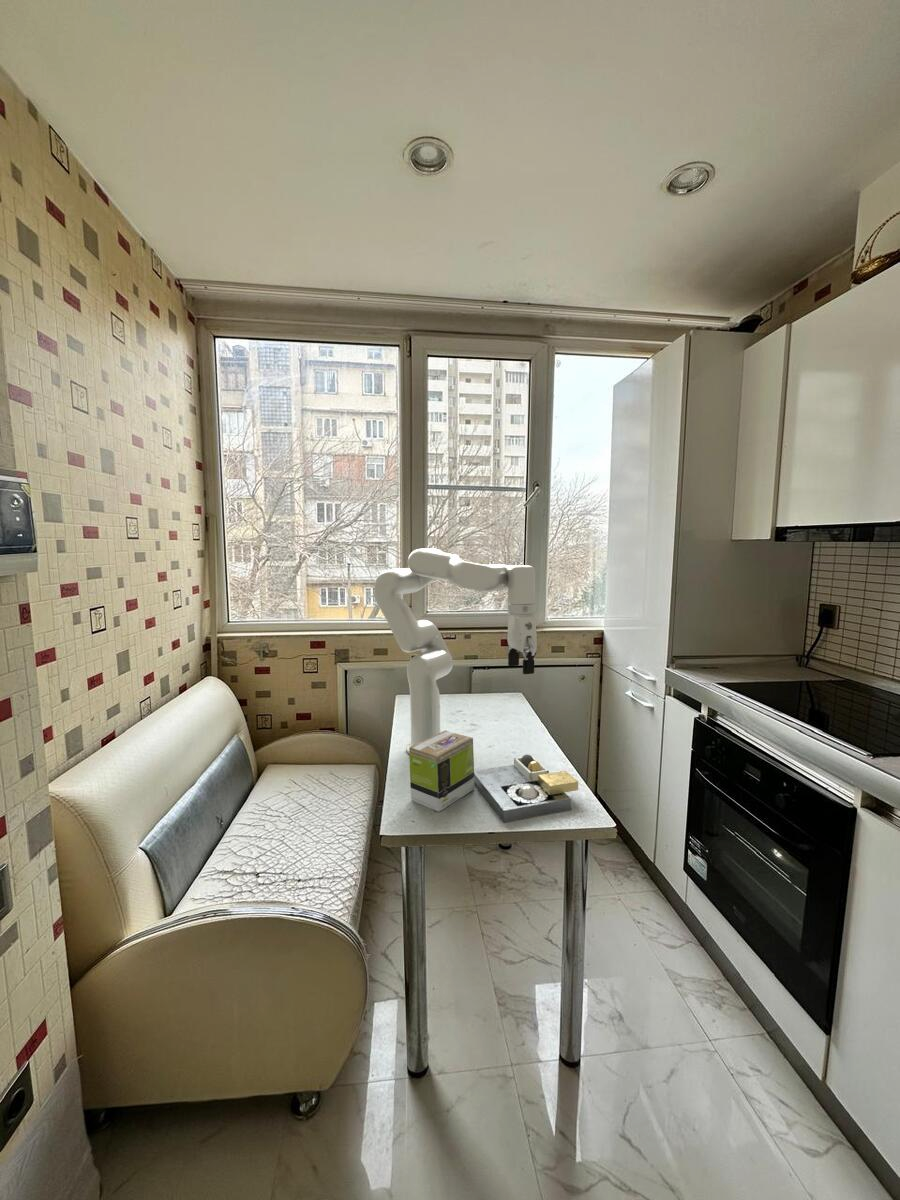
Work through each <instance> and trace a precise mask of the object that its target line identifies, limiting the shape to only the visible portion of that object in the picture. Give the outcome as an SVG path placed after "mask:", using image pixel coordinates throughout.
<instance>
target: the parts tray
mask: <svg viewBox="0 0 900 1200" xmlns="http://www.w3.org/2000/svg"><path fill="white" fill-rule="evenodd" d="M531 756H532V757H533V760H534V761H537V762H539V763H540V765H541V771H536V772H530V771H529V770H528V768H526V767H525V766H524V765H523V764H522V763H521V759H522V757H523V756H518V757H514V758H513V765H514V766H515V767H516V768H517V769H518V770H519V771H520V772H521V773H522V774H523V775H524V776H525V777H526V778H527V779H528V780H529V781H536V780H538V775H541V774H548V773H550V771H549V769H548V768H546V766H544V765H543V764H542V763H541V762H540V761H538V760H537V759H536V758H535V757H534V756H533V755H531Z"/></svg>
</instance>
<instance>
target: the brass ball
mask: <svg viewBox="0 0 900 1200" xmlns="http://www.w3.org/2000/svg"><path fill="white" fill-rule="evenodd" d="M537 761H538V760H537ZM537 761H532V762H530V763H529V765H528V770H529V771H530V772H536V771H541V765H540V763H541V762H540V761H538V762H537ZM539 762H540V763H539Z"/></svg>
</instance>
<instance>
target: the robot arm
mask: <svg viewBox="0 0 900 1200" xmlns="http://www.w3.org/2000/svg"><path fill="white" fill-rule="evenodd" d="M434 580H438V581H441V582H446V583H450V584H452V585H455V586H457V587H460V588H462V589H466V590H467V589H468V590H471V591H476V592H480V593H492V592H498V591H504V590H507V616H508V621H507V622H508V623H507V635H506V640H507V643H506V645H507V647H508V648H507V652H508V654H507V661H508V662H507V666H508V667H518V666H520V652H521V653H522V656H523V659H522V674H523V675H531V674H532V675H533V674H534V673H535V660H536V655H537V649H538V640H537V639H538V638H537V637H538V636H537V623H536V615H535V614H536V613H535V611H536V604H535V603H536V569H535V567H534V566H532V565H522V564H521V565H519V564H518V565H516V564H515V565H509V564H508V565H507V564H501V563H498V564H497V563H495V564H481V563H475V562H469V561H465V560H463V559H461V556H460V555H458V554H452V553H449V552H443V551H442V550H441V549H438V548H418V549H414V550H413V551H412V552H411V553H410V554H409V556H408V558H407V567H405V568H404V567H402V568H390V569H387V570H384V571H382V572H381V573H380V574H379V575H378V576H377V577H376V579H375V582H374V587H373V595H374V599H375V602H376V603H377V605H378V607H379V609H380V611H381V613H382V614H383V616H384V618H385V620H386V622H387V624H388V626H389V628H390V630H391V632H392V635H393V636H394V639H395V640H396V643H397V645H398V647H399V648H400V650H402V652H404V653H407V654H408V653H415V652H417V651H418V652H419V651H420V652H421V653H419V654H416V655H414V656H413V657H412V658H411V659H410V660H409V661H408V663H407V665H406V675H407V681H408V686H409V704H410V705H409V707H410V709H409V712H410V742H408V744H406V747H405V748H406V749H405V750H406V753H407V754H409V747H411V746H414V745H415V744H417V743H420V742H422V741H424V740H426V739H428V738H430V737H432V736H435V735H437V734H439V733H441V696H440V695H441V694H440V689H439V687H438V684H437V680H439V679H441V678H443V677H445V676H447V675H449V674H450V673H451V671H452V670H453V666H454V663H453V658H452V655H451V653H450V651H449V648H448V646H447V644H446V642H445V640H444V638H443V637H442V633H441V632H440V631H439V629H438V627H437V626H436V624H434V623H433V622H432V621H430V620H427V619H419V620H417V618H416V616H415V615H414V614H413V612H412V609H411V607H410V606H409V605H408V604H407V602H406V601H405V600H403V598H402V597H401V595H407V594H408V595H409V594H414V593H417V592H419V591H421V590H423V589H424V588H425V587H426V586H428V585H429V584H430V583H431V582H433V581H434Z"/></svg>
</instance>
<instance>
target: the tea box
mask: <svg viewBox="0 0 900 1200" xmlns="http://www.w3.org/2000/svg"><path fill="white" fill-rule="evenodd" d="M408 755H409V774H410V775H409V779H410V782H409V783H410V800H411V801H412V802H414V803H417V804H419V805H421V806H424V807H426V808H429V809H431V810H433V811H435V812H441V811H443V810H444V809H446V808H447V807H449V806H450V805H452V804H454V803H455V802H456V801H458V800H460V799H462V798H463V797H464V796H466V795H467V794H469V793H471V792H472V791H474V790H475V784H474V771H475V759H474V757H475V756H474V755H475V754H474V737H471V736H468V735H463V734H459V733H456V732H452V731H449V730H443V731H440V733H439V734H437V735H435V736H432V737H430V738H428V739H426V740H424V741H422V742H420V743H417V744H415V745H414V746H411V747H409V753H408Z"/></svg>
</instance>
